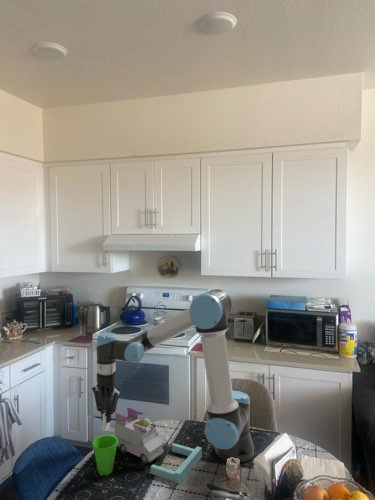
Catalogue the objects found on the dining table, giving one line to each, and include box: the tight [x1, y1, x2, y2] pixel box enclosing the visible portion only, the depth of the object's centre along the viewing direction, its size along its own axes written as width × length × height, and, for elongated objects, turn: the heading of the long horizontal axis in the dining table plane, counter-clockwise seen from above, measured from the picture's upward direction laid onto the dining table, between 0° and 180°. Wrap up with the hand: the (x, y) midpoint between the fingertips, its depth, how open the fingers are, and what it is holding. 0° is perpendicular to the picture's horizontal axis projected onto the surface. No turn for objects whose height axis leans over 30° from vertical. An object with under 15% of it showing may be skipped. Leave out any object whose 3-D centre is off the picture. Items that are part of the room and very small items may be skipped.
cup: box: [91, 434, 118, 476], centre depth 135 cm, size 9×9×11 cm
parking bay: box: [150, 443, 203, 485], centre depth 139 cm, size 12×18×4 cm, turn 153°
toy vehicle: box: [114, 406, 165, 465], centre depth 146 cm, size 9×20×15 cm, turn 53°
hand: (106, 429), depth 153 cm, fingers closed
